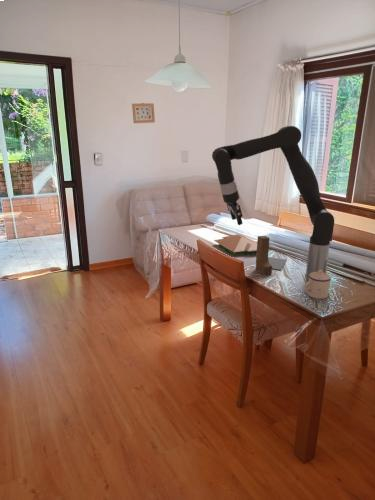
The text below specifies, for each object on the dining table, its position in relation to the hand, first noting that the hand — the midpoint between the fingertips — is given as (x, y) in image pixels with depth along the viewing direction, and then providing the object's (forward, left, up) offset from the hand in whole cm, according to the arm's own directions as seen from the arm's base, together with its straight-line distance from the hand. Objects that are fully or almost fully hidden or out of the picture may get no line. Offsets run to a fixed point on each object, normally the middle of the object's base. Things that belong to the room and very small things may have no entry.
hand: (237, 221), depth 178 cm
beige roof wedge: (+10, -41, -27) cm, 51 cm away
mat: (-15, -22, -27) cm, 37 cm away
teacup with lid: (-40, +12, -27) cm, 49 cm away
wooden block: (-13, -7, -27) cm, 31 cm away
